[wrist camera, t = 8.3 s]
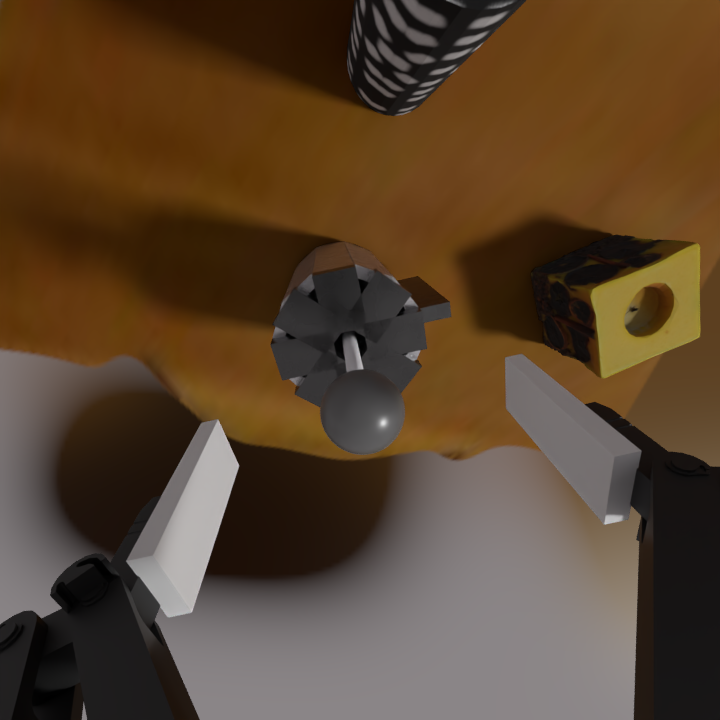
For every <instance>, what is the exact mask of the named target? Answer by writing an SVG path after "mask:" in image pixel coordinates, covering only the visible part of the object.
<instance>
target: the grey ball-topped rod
mask: <svg viewBox="0 0 720 720" xmlns="http://www.w3.org/2000/svg"><path fill="white" fill-rule="evenodd" d="M358 281H359V286H360V290H361V288H362V287H363V285H364V284H365V282H366V281H365V280H362V279H359V278H358ZM309 294H310V295H312V296H313V297H315V298H317V295H316V291H315V288H314V289H313V290H312V291H311V292H310V293H309ZM342 341H343V348H344V356H345V363H346V371H347V372H346V373H344V374H342V375H340V376H339V377H337V378H336V379H335V380H334V381H333V382H332V383H331V384H330V385H329V387H328V388H327V390H326V391H325V393H324V396H323V398H322V402H321V408H320V416H321V422H322V425H323V428H324V431H325V432H326V434H327V436H328V437H329V438H330V440H331V441H332V442H333V443H334V444H335V445H337V446H338V447H339V448H341V449H343V450H345V451H347V452H350V453H353V454H361V455H364V454H372V453H376V452H378V451H381V450H383V449H384V448H386V447H387V446H389V445H390V444H391V443H392V442H393V441H394V440H395V439H396V437H397V436H398V434H399V432H400V431H401V429H402V426H403V422H404V417H405V407H404V402H403V398H402V395H401V393H400V391H399V390H398V388H397V386H396V385H395V384H394V383H393V382H392V381H391V380H390V379H389V378H388V377H386V376H385V375H383V374H381V373H379V372H376V371H373V370H368V369H363V365H362V361H361V357H360V352H359V348H358V344H357V340H356V335H355V331H354V330H353V331H349V332H344V333H342Z"/></svg>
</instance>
